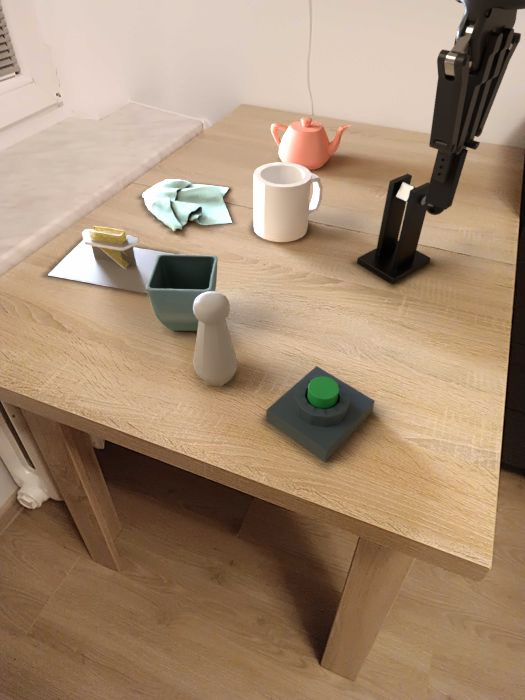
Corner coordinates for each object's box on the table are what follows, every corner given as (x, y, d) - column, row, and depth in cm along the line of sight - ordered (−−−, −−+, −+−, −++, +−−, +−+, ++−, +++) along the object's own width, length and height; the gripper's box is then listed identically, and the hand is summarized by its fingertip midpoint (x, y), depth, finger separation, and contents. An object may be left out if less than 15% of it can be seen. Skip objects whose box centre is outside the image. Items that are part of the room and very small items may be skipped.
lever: (426, 212, 88) (436, 193, 87) (442, 219, 86) (453, 200, 85) (390, 198, 79) (401, 177, 77) (408, 206, 77) (419, 185, 75)
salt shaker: (207, 398, 64) (200, 320, 55) (187, 371, 68) (176, 294, 59) (246, 379, 67) (244, 303, 58) (224, 354, 70) (220, 278, 61)
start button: (319, 381, 62) (320, 371, 60) (343, 396, 60) (345, 386, 59) (301, 398, 60) (302, 388, 58) (325, 413, 58) (327, 404, 57)
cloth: (164, 176, 111) (163, 166, 109) (256, 193, 106) (256, 182, 104) (114, 219, 97) (111, 208, 95) (217, 241, 92) (216, 229, 90)
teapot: (275, 147, 123) (277, 106, 117) (348, 155, 121) (354, 113, 114) (264, 167, 115) (264, 124, 108) (342, 176, 112) (347, 133, 105)
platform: (146, 293, 80) (139, 258, 76) (47, 275, 83) (35, 240, 79) (175, 254, 88) (170, 220, 84) (84, 238, 92) (75, 205, 87)
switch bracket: (393, 244, 92) (411, 165, 81) (429, 263, 87) (452, 182, 77) (356, 263, 87) (369, 182, 77) (392, 284, 82) (411, 201, 72)
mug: (300, 205, 102) (303, 153, 95) (331, 227, 96) (338, 173, 88) (243, 223, 96) (242, 170, 89) (273, 247, 90) (275, 192, 83)
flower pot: (165, 301, 79) (157, 252, 72) (220, 303, 78) (218, 254, 72) (154, 339, 72) (144, 289, 66) (214, 341, 72) (211, 291, 66)
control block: (315, 377, 67) (317, 355, 64) (372, 412, 63) (377, 390, 60) (266, 420, 62) (266, 399, 59) (324, 462, 57) (328, 441, 55)
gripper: (499, -61, 48) (436, 176, 64) (431, -51, 41) (380, 212, 57) (581, -55, 44) (492, 195, 60) (521, -42, 37) (439, 236, 53)
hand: (438, 203), depth 59 cm, fingers closed
